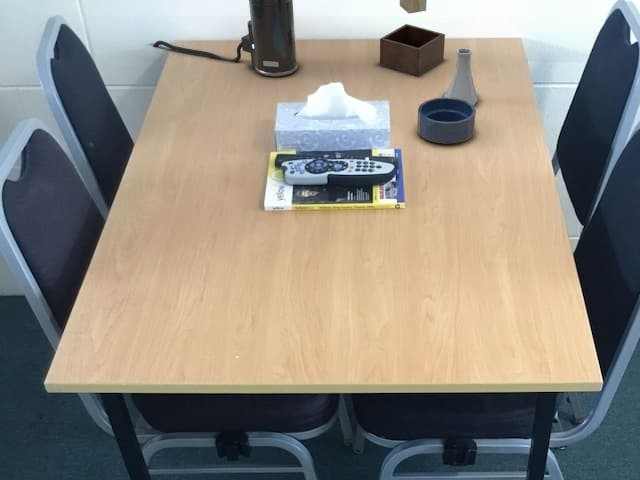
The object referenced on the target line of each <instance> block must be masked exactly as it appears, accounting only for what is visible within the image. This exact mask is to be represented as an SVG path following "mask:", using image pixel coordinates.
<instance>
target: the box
mask: <svg viewBox="0 0 640 480" xmlns="http://www.w3.org/2000/svg"><path fill="white" fill-rule="evenodd" d="M427 2H428V0H399V7H400V8H401V9H403V10H404V11H405V12H406V13H407V14H409V15H411V14H415V13H421V12H427Z"/></svg>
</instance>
